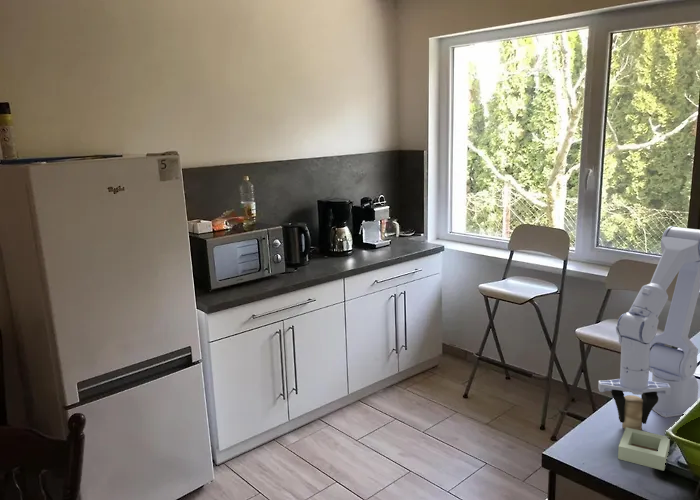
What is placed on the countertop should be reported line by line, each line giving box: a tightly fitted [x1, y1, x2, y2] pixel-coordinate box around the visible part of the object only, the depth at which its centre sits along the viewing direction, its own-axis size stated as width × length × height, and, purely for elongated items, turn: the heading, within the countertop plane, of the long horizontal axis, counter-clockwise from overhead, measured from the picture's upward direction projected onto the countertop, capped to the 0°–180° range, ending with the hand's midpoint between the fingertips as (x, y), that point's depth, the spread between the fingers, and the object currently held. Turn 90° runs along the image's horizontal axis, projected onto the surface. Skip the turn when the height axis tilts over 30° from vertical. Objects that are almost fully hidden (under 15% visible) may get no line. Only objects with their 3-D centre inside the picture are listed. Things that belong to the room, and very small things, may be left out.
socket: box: [617, 427, 671, 472], centre depth 120 cm, size 8×8×3 cm
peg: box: [621, 394, 643, 431], centre depth 129 cm, size 4×4×7 cm
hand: (632, 420), depth 130 cm, fingers closed on peg, 4 cm apart
